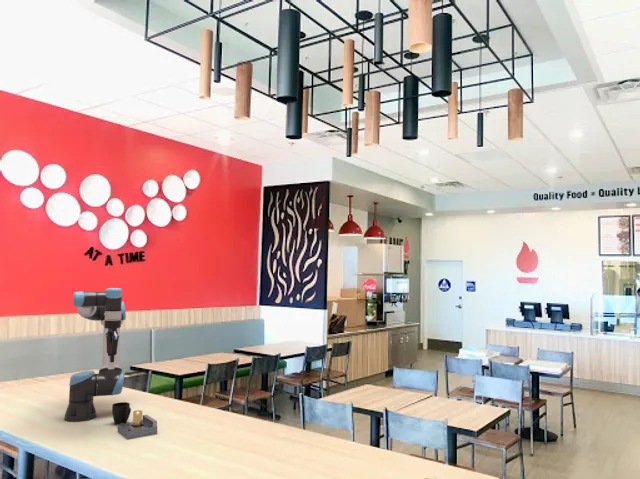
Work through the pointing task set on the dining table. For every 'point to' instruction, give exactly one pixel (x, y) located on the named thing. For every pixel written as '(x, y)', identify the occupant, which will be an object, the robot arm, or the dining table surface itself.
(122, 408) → the mug
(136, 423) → the brass cylinder
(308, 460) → the dining table surface
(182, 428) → the dining table surface
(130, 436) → the jig
